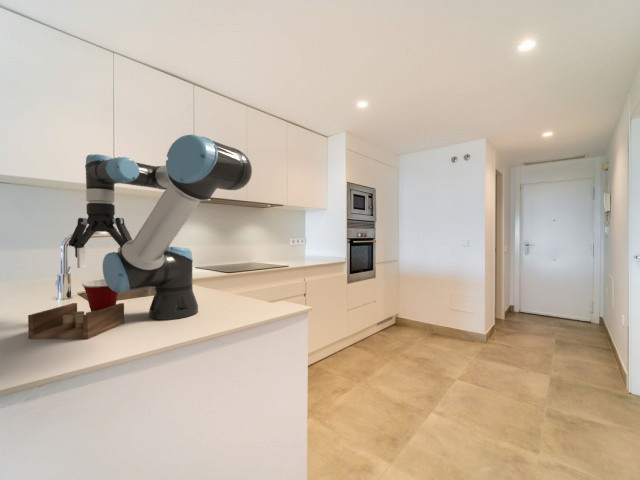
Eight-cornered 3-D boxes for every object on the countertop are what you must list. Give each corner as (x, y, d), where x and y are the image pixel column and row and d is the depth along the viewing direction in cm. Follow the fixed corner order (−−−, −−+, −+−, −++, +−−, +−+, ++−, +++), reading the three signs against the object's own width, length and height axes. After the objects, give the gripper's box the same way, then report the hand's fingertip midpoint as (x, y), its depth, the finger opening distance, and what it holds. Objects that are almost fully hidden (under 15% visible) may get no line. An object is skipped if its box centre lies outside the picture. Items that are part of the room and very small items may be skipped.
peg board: (124, 323, 93) (124, 303, 92) (88, 339, 79) (87, 315, 78) (73, 322, 93) (73, 303, 93) (28, 338, 79) (28, 315, 79)
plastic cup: (76, 323, 93) (76, 284, 93) (89, 314, 103) (88, 279, 103) (118, 319, 97) (117, 282, 97) (126, 311, 107) (125, 277, 107)
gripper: (144, 204, 103) (145, 266, 103) (73, 204, 103) (74, 266, 104) (130, 201, 95) (131, 268, 96) (53, 202, 96) (54, 268, 96)
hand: (102, 267), depth 100 cm, fingers open, 13 cm apart
